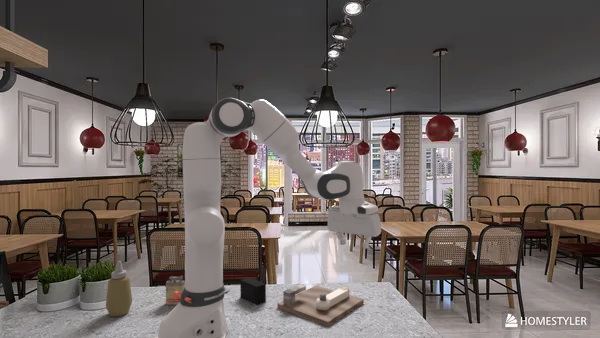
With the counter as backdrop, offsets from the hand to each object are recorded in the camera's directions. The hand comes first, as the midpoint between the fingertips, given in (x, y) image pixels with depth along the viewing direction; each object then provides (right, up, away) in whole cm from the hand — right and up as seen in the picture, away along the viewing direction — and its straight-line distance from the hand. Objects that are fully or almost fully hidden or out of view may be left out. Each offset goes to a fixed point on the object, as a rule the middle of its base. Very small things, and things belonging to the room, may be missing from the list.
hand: (353, 246), depth 116 cm
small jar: (-65, -23, +7) cm, 69 cm away
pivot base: (-11, -23, +4) cm, 26 cm away
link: (-7, -21, +4) cm, 22 cm away
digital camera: (-36, -23, +10) cm, 44 cm away
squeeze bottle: (-81, -23, -2) cm, 84 cm away
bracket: (-53, -23, +20) cm, 61 cm away
